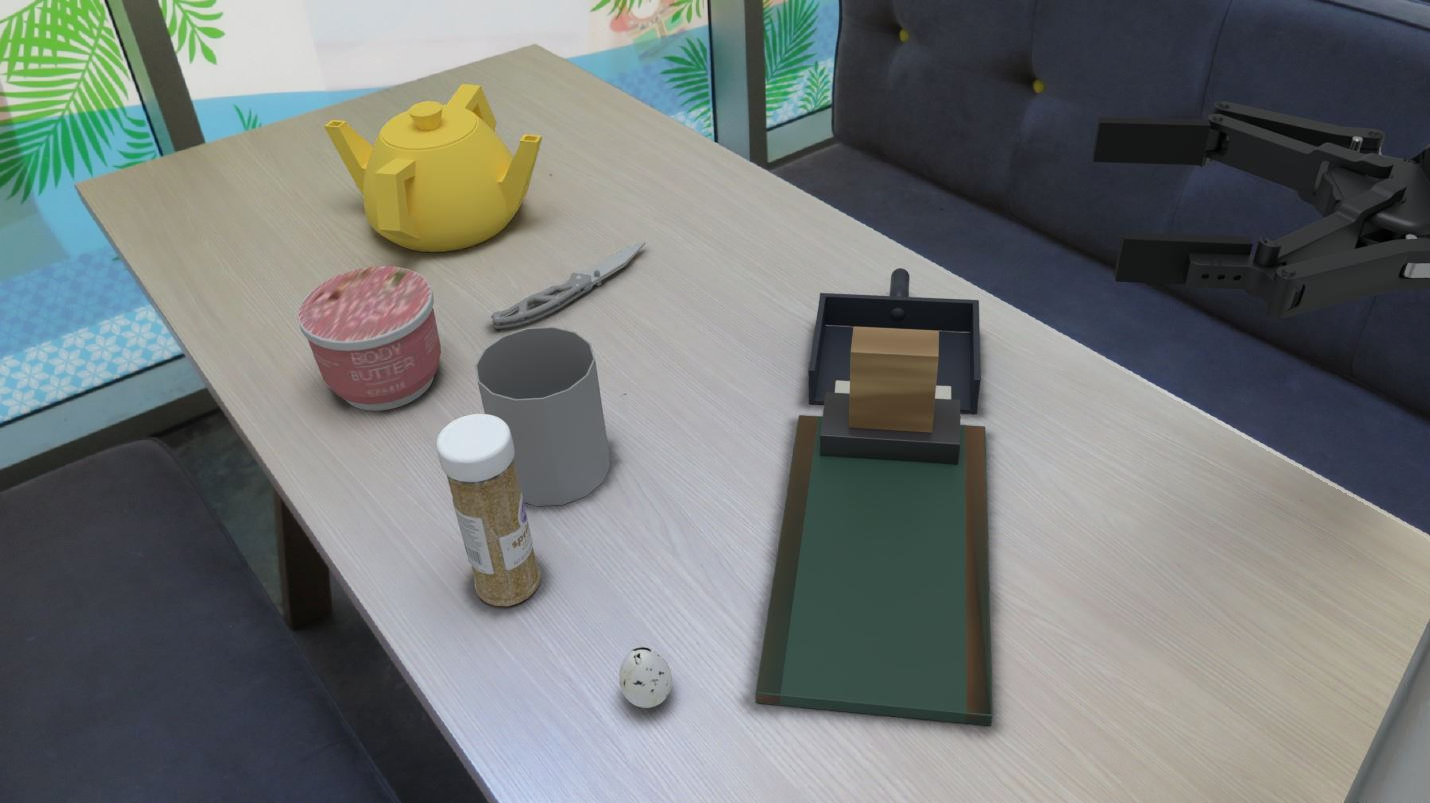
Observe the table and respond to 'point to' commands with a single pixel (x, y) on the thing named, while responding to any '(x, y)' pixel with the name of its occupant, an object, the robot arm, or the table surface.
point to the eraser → (892, 401)
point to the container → (373, 335)
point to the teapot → (438, 173)
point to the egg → (645, 677)
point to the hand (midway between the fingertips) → (1105, 194)
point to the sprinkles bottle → (489, 507)
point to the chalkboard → (882, 586)
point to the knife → (576, 287)
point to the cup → (548, 411)
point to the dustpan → (899, 313)
